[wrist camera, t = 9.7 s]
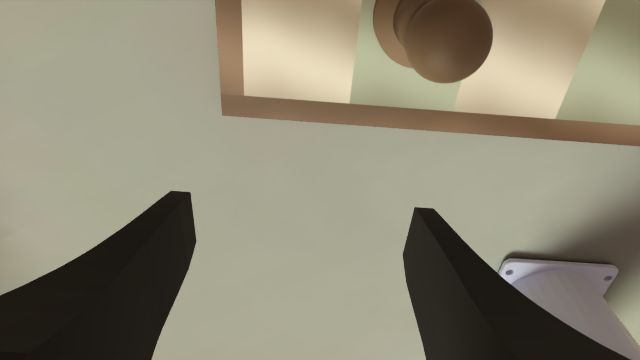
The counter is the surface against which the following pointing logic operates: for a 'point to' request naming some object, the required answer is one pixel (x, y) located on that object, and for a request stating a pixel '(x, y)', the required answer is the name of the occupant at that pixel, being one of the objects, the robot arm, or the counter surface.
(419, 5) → the pawn
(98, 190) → the counter surface
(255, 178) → the counter surface
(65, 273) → the robot arm
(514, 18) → the game board
